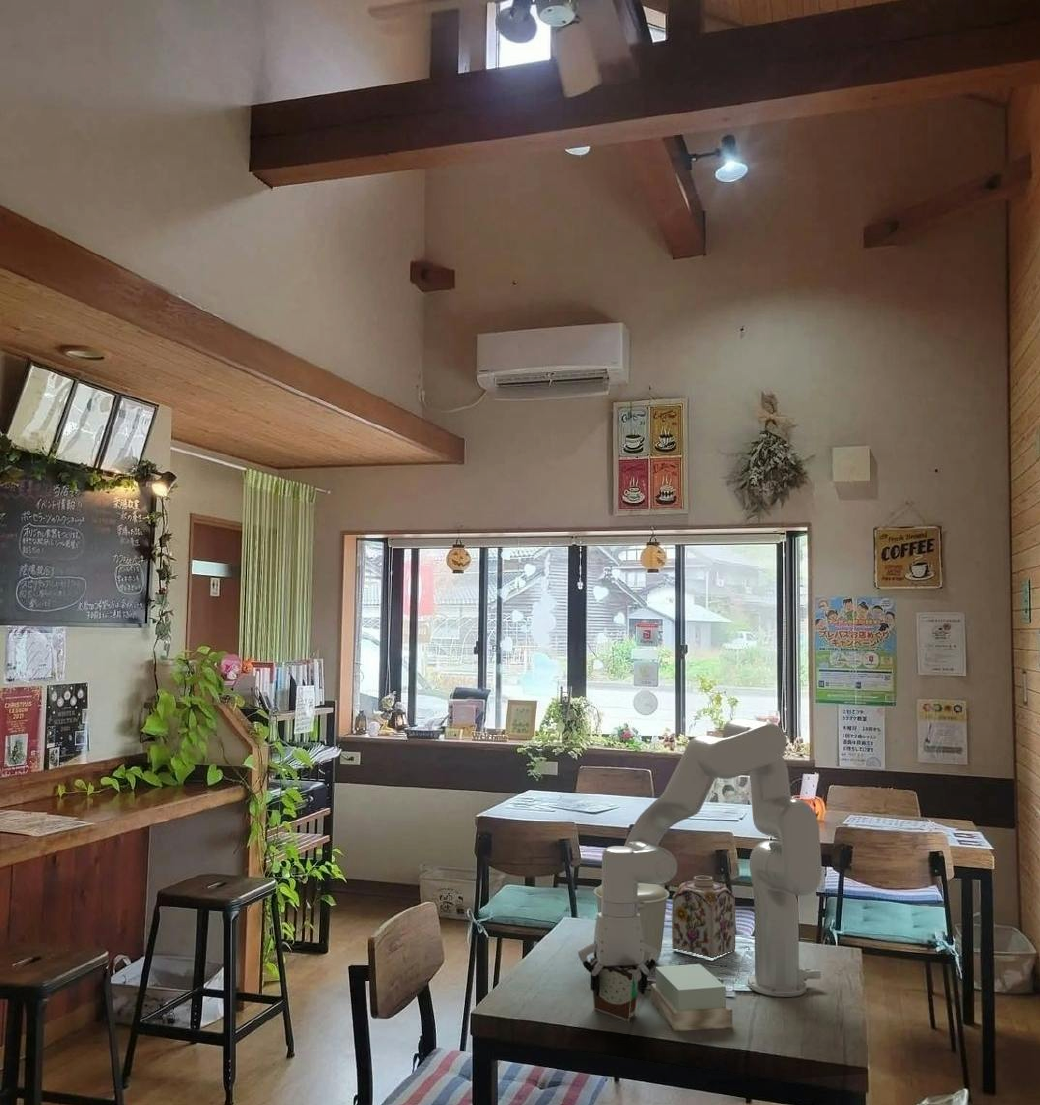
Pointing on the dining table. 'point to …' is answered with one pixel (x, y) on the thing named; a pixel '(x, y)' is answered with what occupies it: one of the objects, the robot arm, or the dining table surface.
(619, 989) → the food container
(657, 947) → the canister
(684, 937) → the decorative jar
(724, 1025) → the lower slab
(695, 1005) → the upper slab
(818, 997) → the dining table surface
